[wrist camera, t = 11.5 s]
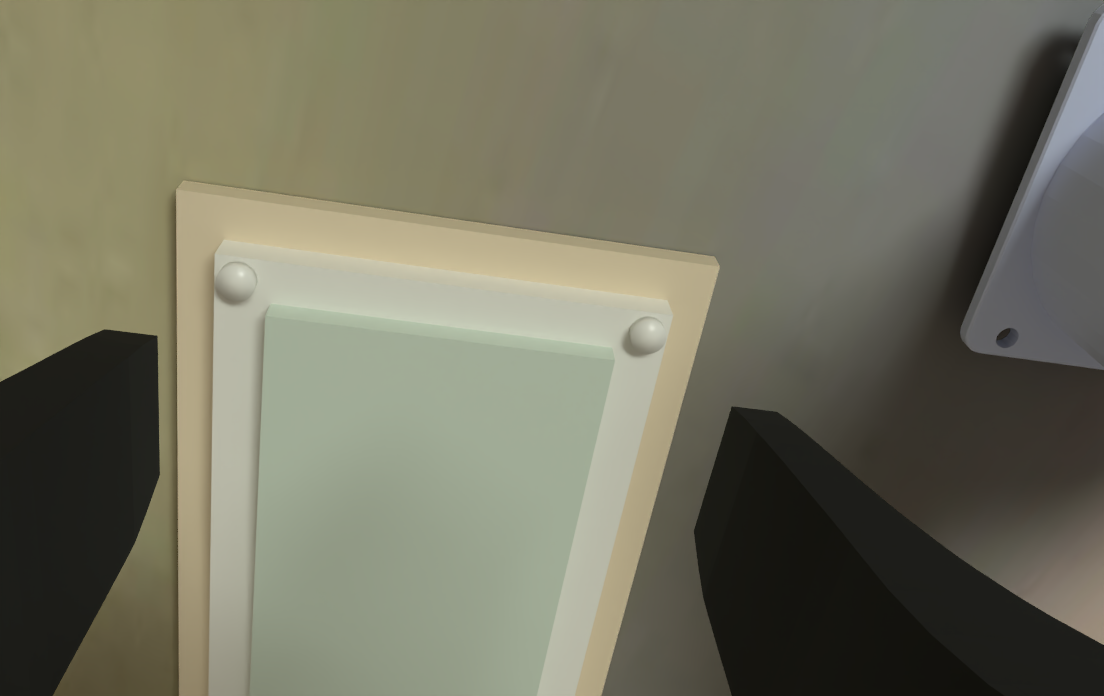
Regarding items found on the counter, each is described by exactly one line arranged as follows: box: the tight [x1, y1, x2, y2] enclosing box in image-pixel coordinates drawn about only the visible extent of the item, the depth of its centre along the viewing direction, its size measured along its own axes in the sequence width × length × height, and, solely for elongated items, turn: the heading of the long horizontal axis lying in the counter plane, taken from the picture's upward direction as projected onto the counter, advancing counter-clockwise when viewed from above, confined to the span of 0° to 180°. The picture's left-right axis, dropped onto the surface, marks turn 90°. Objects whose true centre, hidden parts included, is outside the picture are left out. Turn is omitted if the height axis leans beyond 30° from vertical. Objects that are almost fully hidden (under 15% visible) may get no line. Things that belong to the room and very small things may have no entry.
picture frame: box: [176, 180, 720, 696], centre depth 25 cm, size 12×18×2 cm, turn 170°
